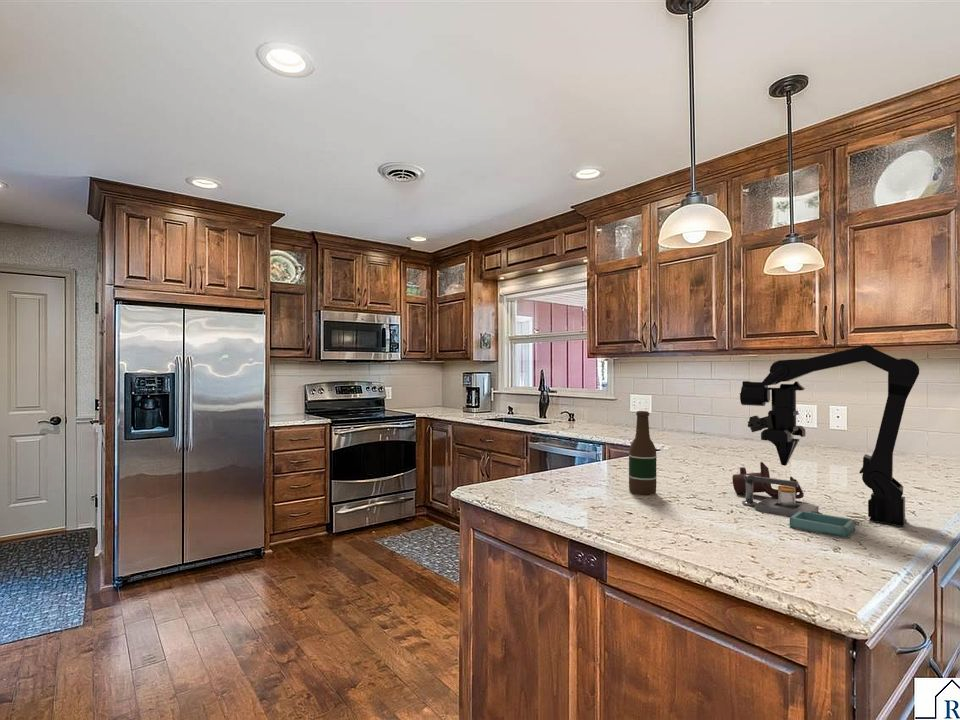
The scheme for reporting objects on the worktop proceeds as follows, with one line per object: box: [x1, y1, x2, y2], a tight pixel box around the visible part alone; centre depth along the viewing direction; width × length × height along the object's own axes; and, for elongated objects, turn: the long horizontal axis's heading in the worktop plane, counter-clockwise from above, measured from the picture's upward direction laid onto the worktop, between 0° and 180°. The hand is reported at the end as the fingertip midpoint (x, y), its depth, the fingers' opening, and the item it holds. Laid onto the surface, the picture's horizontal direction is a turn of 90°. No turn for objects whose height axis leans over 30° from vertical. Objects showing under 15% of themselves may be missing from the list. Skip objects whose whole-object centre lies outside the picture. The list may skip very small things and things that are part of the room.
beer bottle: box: [628, 410, 657, 496], centre depth 156 cm, size 8×8×24 cm
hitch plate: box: [741, 481, 819, 517], centre depth 138 cm, size 17×10×6 cm, turn 46°
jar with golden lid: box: [777, 485, 796, 509], centre depth 136 cm, size 4×4×6 cm
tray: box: [789, 511, 856, 539], centre depth 121 cm, size 11×9×2 cm
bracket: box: [731, 461, 805, 500], centre depth 151 cm, size 6×17×10 cm, turn 52°
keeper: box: [744, 475, 799, 487], centre depth 139 cm, size 13×3×1 cm, turn 46°
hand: (784, 465), depth 141 cm, fingers closed
